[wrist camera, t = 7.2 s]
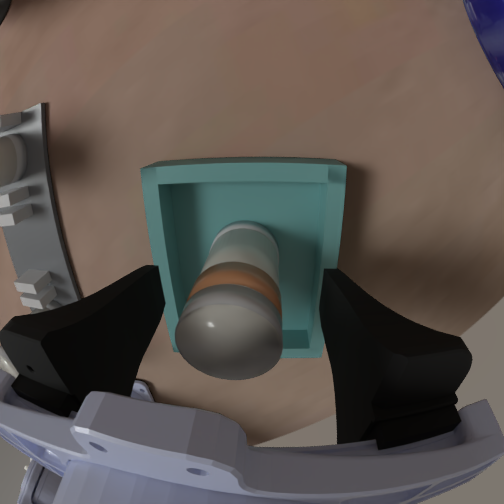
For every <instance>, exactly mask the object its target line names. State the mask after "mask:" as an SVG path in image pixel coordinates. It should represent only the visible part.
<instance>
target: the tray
mask: <svg viewBox="0 0 504 504" xmlns="http://www.w3.org/2000/svg"><path fill="white" fill-rule="evenodd" d="M140 170H141V179H142V189H143V197H144V205H145V212H146V219H147V226H148V233H149V239H150V245H151V251H152V257H153V262H154V265H158V266H159V272H160V277H161V282H162V287H163V292H164V297H165V302H166V304H165V308H164V315H165V319H166V323H167V327H168V331H169V335H170V339H171V343H172V347H173V350H174V352H179V350H178V348H177V346H176V343H175V329H176V326H177V323H178V321H179V319H180V316H181V314H182V311H183V309H184V306H185V304H186V301H187V299H188V297H189V294H190V292H191V290H192V287H193V285H194V283H195V281H196V279H197V278H198V276H199V275H200V273H201V271H202V268H203V266H204V264H205V262H206V259H207V257H208V255H209V251H210V248H211V246H212V243H213V241H214V239H215V237H216V235H217V233H218V232H219V231H220V230H221V229H222V228H223V227H224V226H226V225H228V224H230V223H232V222H235V221H240V220H249V221H254V222H257V223H259V224H261V225H263V226H265V227H266V228H267V229H269V230H270V231H271V233H272V234H273V235H274V237H275V239H276V241H277V243H278V248H279V266H278V268H279V290H280V294H281V302H282V333H283V351H282V355H281V357H280V358H318V357H321V356H322V351H323V346H324V341H325V340H324V336H323V333H322V328H321V322H320V314H319V303H320V296H321V288H322V280H323V272H324V268H327V269H337V263H338V256H339V248H340V239H341V230H342V221H343V210H344V199H345V186H346V170H347V166H346V165H345V164H343V163H341V162H339V161H337V160H336V159H321V158H297V157H225V158H201V159H184V160H170V161H158V162H156V163H153V164H150V165H148V166H145V167H143V168H140Z"/></svg>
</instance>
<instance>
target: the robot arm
mask: <svg viewBox="0 0 504 504" xmlns="http://www.w3.org/2000/svg"><path fill="white" fill-rule="evenodd" d="M165 304H166V302H165V297H164V292H163V287H162V282H161V277H160V272H159V266H158V265H145V266H143V267H141V268H139V269H137V270H135V271H133V272H131V273H130V274H128V275H126V276H124V277H123V278H121V279H119V280H118V281H116V282H114V283H112V284H111V285H109V286H107V287H105V288H103V289H101V290H100V291H98V292H96V293H94V294H92V295H90V296H88V297H85V298H83V299H81V300H78V301H76V302H73V303H70V304H67V305H65V306H62V307H59V308H55V309H52V310H48V311H44V312H40V313H35V314H28V315H22V316H15V317H13V318H12V319H11V320H10V321H9V322H8V323H7V324H6V325H5V326H4V327H3V329H2V330H1V331H0V342H1V345H2V347H3V349H4V351H5V353H6V354H7V356H8V358H9V359H10V361H11V362H12V364H13V365H14V367H15V369H16V370H17V372H18V373H19V375H18V376H17V378H15V377H14V376H12V375H11V374H10V373H8V372H6V371H4V370H2V369H0V436H1V437H2V438H3V439H4V440H6V441H7V442H8V443H10V444H11V445H12V446H14V447H15V448H17V449H18V450H20V451H21V452H23V453H24V454H26V455H27V456H28V457H30V458H31V459H32V460H31V462H30V465H29V467H28V469H27V471H26V474H25V476H24V479H23V482H22V485H21V493H20V495H19V498H18V501H17V504H417V503H420V502H422V501H425V500H428V499H430V498H432V497H435V496H437V495H440V494H442V493H445V492H447V491H449V490H451V489H453V488H456V487H458V486H460V485H462V484H465V483H467V482H469V481H470V480H472V479H473V478H475V477H476V476H477V475H479V474H480V473H482V472H483V471H484V470H486V469H487V468H488V467H489V466H491V465H492V464H493V463H494V462H496V461H497V460H498V459H500V457H502V456H503V455H504V436H503V434H502V431H501V429H500V427H499V424H498V422H497V420H496V418H495V416H494V414H493V412H492V409H491V407H490V405H489V403H488V401H487V400H486V399H484V400H481V401H478V402H476V403H473V404H470V405H467V406H465V407H463V408H461V409H460V410H459V411H457V409H456V407H455V404H456V403H457V402H458V398H457V396H456V394H455V391H456V390H457V389H458V387H459V386H460V384H461V383H462V381H463V380H464V378H465V377H466V375H467V374H468V372H469V370H470V367H471V364H472V355H471V353H470V351H469V350H468V348H467V346H466V345H465V343H464V342H463V340H462V339H461V337H458V336H454V335H450V334H446V333H443V332H439V331H436V330H433V329H430V328H428V327H425V326H423V325H420V324H418V323H415V322H413V321H411V320H409V319H407V318H405V317H403V316H401V315H399V314H397V313H396V312H394V311H392V310H391V309H389V308H387V307H386V306H384V305H383V304H381V303H380V302H378V301H377V300H376V299H374V298H373V297H372V296H370V295H369V294H368V293H366V292H365V291H364V290H363V289H362V288H360V287H359V286H358V285H357V284H356V283H354V282H353V281H352V280H351V279H350V278H349V277H348V276H346V275H345V274H344V273H343V272H342V271H340V270H339V269H327V268H324V272H323V280H322V288H321V296H320V303H319V314H320V322H321V328H322V333H323V336H324V340H325V344H326V348H327V352H328V356H329V360H330V364H331V369H332V374H333V382H334V391H335V403H336V419H337V445H326V446H314V447H313V446H311V447H281V448H280V447H254V446H249V445H247V437H246V434H245V432H244V431H243V429H242V428H241V426H240V425H239V424H238V423H237V422H235V421H233V420H231V419H229V418H227V417H225V416H223V415H222V414H220V413H215V412H211V411H206V410H202V409H198V408H190V407H183V406H176V405H169V404H163V403H157V402H155V401H154V399H153V397H152V395H151V393H150V391H149V388H148V386H147V384H146V383H144V382H142V381H138V380H135V379H136V375H137V372H138V369H139V366H140V363H141V361H142V358H143V356H144V354H145V352H146V350H147V348H148V346H149V344H150V341H151V339H152V337H153V335H154V333H155V331H156V329H157V327H158V325H159V323H160V320H161V317H162V314H163V311H164V308H165Z"/></svg>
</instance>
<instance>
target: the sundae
mask: <svg viewBox="0 0 504 504" xmlns="http://www.w3.org/2000/svg"><path fill="white" fill-rule="evenodd" d="M10 2H11V0H0V24H1V22H2V21H3V19H4V17H5V15H6V13H7V11H8V8H9V6H10Z"/></svg>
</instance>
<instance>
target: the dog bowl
mask: <svg viewBox="0 0 504 504" xmlns="http://www.w3.org/2000/svg"><path fill="white" fill-rule="evenodd" d="M463 2H464V6H465V9H466V12H467V14H468V17H469V20H470V22H471V25H472V27H473V29H474V32H475V34H476V36H477V39H478V41H479V43H480V45H481V47H482V49H483V51H484V53H485V55H486V57H487V59H488V61H489V63H490V65H491V67H492V69H493V70H494V72H495V74H496V76H497V77H498V79H499V81H500V83H501V84H502V86H503V88H504V0H463Z"/></svg>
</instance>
